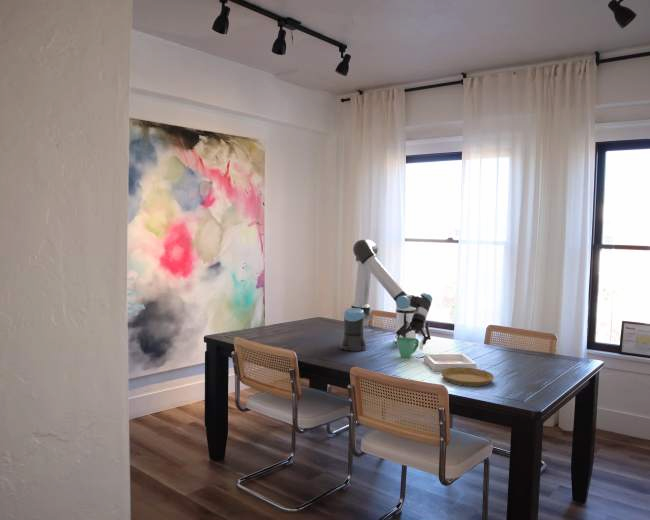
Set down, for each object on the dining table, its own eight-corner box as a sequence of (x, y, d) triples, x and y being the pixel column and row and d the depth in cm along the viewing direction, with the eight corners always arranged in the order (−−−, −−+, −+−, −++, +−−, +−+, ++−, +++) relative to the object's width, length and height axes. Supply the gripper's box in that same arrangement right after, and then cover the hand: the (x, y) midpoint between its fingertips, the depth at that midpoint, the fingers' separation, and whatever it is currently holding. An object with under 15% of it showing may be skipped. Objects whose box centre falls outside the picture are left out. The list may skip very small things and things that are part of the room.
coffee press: (417, 345, 323) (418, 297, 322) (391, 343, 328) (392, 295, 327) (421, 340, 340) (422, 294, 338) (396, 338, 345) (397, 292, 343)
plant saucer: (502, 388, 238) (502, 380, 238) (450, 388, 236) (450, 381, 236) (482, 373, 262) (482, 367, 262) (434, 374, 260) (434, 367, 260)
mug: (406, 360, 286) (406, 341, 286) (392, 356, 294) (393, 338, 294) (423, 356, 296) (424, 338, 295) (410, 353, 303) (411, 335, 303)
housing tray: (434, 371, 264) (434, 363, 263) (424, 360, 285) (424, 353, 285) (476, 371, 265) (476, 363, 264) (462, 361, 286) (463, 353, 286)
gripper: (441, 322, 301) (432, 353, 289) (401, 318, 314) (390, 348, 302) (438, 314, 296) (428, 346, 285) (398, 310, 310) (386, 340, 298)
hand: (409, 347), depth 293 cm, fingers open, 13 cm apart
